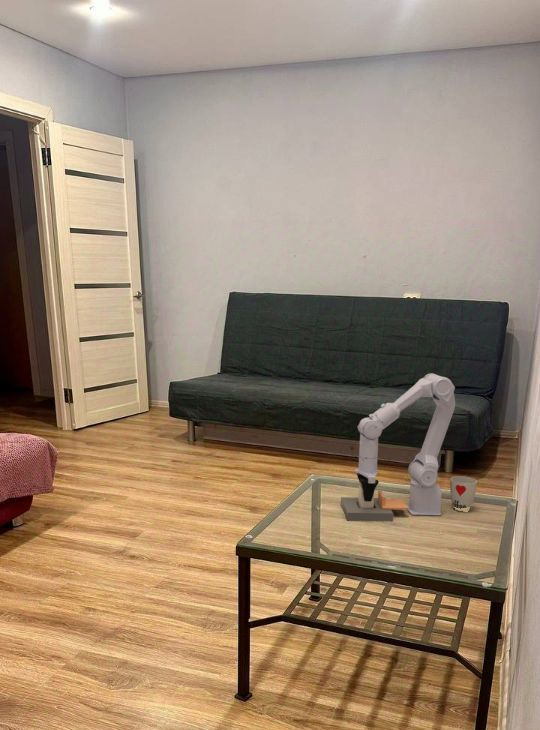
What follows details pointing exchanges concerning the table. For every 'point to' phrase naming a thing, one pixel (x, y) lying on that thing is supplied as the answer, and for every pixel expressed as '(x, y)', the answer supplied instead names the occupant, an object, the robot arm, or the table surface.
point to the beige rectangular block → (361, 499)
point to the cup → (462, 491)
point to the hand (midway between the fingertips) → (366, 498)
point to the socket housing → (364, 511)
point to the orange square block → (391, 503)
